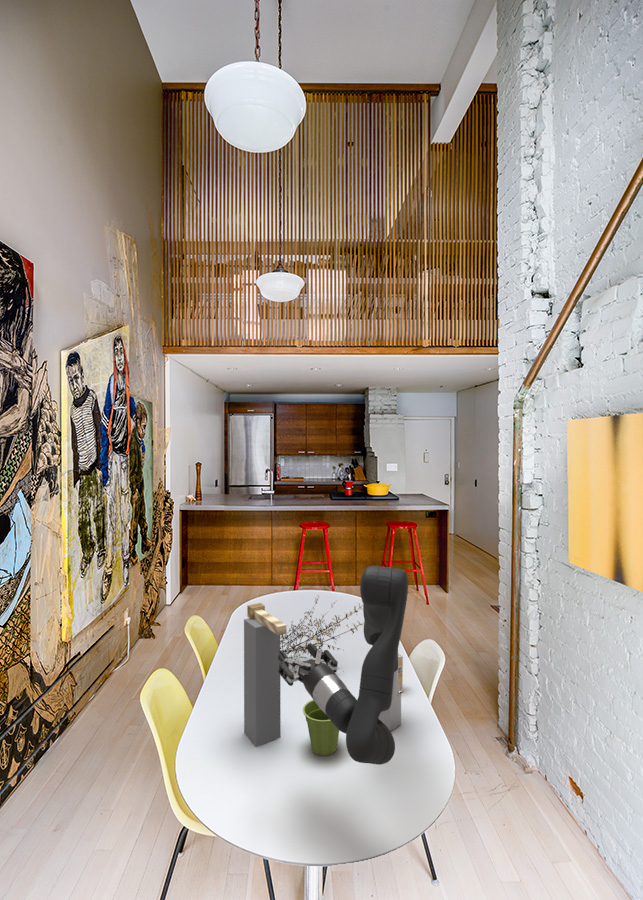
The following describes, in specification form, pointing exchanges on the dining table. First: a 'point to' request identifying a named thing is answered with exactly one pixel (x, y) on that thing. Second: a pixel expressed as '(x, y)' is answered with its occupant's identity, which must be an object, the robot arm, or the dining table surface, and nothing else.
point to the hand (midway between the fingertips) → (294, 649)
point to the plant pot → (320, 730)
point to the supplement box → (400, 671)
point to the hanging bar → (266, 618)
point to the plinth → (261, 683)
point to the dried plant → (313, 635)
